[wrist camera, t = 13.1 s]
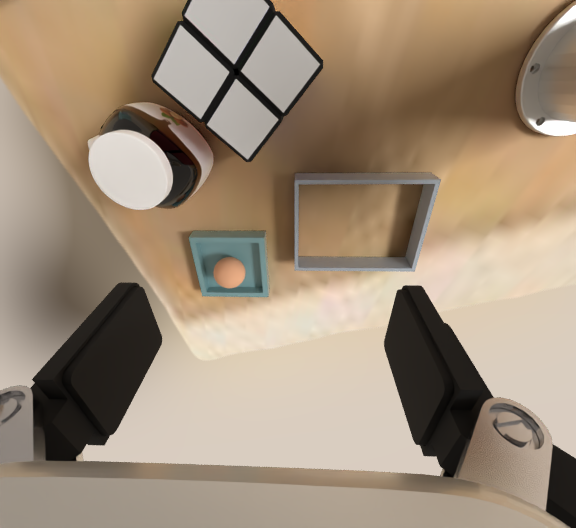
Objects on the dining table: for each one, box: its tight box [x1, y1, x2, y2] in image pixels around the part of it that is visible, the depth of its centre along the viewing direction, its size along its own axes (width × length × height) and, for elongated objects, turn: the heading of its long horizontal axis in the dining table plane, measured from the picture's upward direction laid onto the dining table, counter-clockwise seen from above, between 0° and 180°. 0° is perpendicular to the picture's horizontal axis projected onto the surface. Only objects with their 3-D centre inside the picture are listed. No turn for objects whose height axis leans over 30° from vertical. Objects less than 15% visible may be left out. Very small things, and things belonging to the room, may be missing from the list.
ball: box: [213, 257, 245, 288], centre depth 41 cm, size 5×5×5 cm
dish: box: [189, 231, 270, 297], centre depth 42 cm, size 11×11×2 cm
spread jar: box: [88, 102, 213, 210], centre depth 30 cm, size 12×11×12 cm
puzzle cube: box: [151, 0, 323, 162], centre depth 26 cm, size 10×10×10 cm
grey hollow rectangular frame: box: [295, 172, 441, 271], centre depth 37 cm, size 17×13×3 cm
